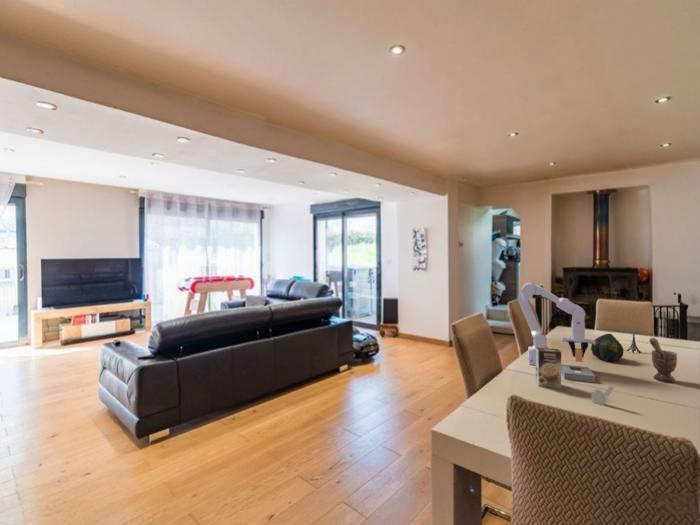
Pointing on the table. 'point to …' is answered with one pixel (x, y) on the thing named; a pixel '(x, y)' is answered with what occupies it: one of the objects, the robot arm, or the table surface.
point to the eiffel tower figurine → (633, 345)
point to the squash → (607, 348)
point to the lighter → (600, 395)
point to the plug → (578, 355)
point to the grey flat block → (577, 373)
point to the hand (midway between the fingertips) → (577, 356)
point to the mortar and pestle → (663, 362)
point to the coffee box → (548, 367)
